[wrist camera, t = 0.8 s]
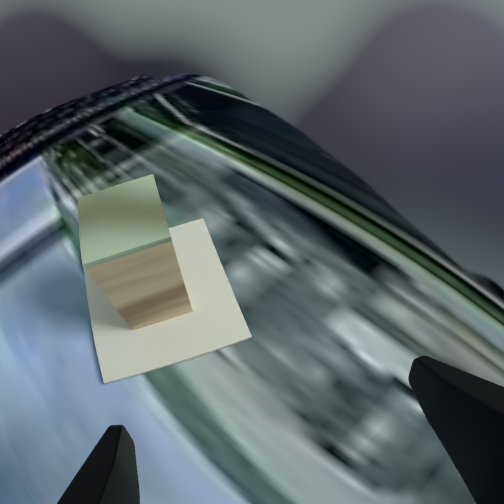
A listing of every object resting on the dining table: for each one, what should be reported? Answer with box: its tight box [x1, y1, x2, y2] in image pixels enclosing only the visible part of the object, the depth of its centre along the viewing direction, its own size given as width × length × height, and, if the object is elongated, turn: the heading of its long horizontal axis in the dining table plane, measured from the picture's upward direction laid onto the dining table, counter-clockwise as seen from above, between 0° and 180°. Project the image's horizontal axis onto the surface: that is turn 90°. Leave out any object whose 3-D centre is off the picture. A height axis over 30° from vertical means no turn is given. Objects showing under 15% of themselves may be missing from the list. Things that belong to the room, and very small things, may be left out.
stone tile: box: [83, 218, 252, 384], centre depth 25 cm, size 12×12×1 cm
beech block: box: [78, 174, 193, 330], centre depth 21 cm, size 5×5×10 cm
